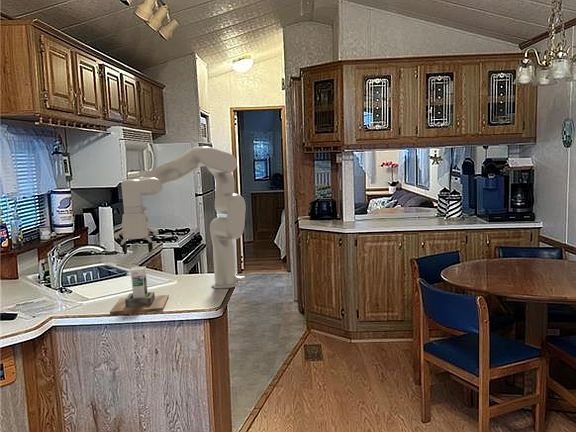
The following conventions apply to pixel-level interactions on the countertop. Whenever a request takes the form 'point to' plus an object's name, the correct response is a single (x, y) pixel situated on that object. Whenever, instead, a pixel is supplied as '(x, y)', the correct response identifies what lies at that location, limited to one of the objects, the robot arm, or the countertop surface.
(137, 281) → the syrup box
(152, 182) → the robot arm
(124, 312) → the socket stand
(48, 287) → the countertop surface
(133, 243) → the countertop surface
